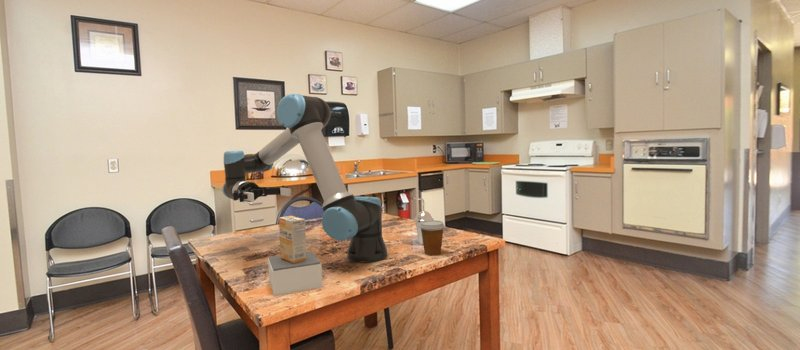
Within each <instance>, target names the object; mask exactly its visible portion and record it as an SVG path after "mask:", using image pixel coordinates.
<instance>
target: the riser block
mask: <svg viewBox="0 0 800 350" xmlns="http://www.w3.org/2000/svg"><path fill="white" fill-rule="evenodd" d="M267 263H268V265H267V267H268V268H267V269H268V282H269V284H270V287H271V290H272V293H273V296H274V297H275V296H283V295H286V294H293V293H298V292H303V291H310V290H315V289H320V288H323V271H322V270H323V269H322V265H323V264H322V263H321V261H320V260H319V259H318V257H317V256H316V255H315V253H314V252H313V251H311V250H310V251H306V260H305V261H302V262H298V263H292V262H290V261H287V260H285V259H282V258H281V256H280V255H275V256H269V257H268V258H267Z"/></svg>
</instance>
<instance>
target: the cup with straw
mask: <svg viewBox="0 0 800 350" xmlns="http://www.w3.org/2000/svg"><path fill="white" fill-rule="evenodd" d="M411 200H417V201H422V210H421V211H419V212H417V214H416V215H415V217H414V219H413V222H415V227H416V231H417V239H418V244H419V243H420V244H419V245H422V244H423V239H422V232H421V228H420V225H421V222H423V221H429V220H434V218H433V216H432V215H431V213H430V212H428V211H426V210H425V199H424V198H421V197H412V198H411Z"/></svg>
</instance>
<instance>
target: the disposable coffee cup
mask: <svg viewBox="0 0 800 350" xmlns="http://www.w3.org/2000/svg"><path fill="white" fill-rule="evenodd" d="M420 228H421V232H422V239H423V245H422V246H423V250H424V251H423V252H424V254H425V255H426V256H438V255H440V254H442V245H443V236H444V235H443V234H444V229H445V225H444V222H443V221H441V220H434V219H433V220H429V221H423V222H421V225H420Z"/></svg>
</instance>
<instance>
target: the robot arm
mask: <svg viewBox="0 0 800 350" xmlns="http://www.w3.org/2000/svg"><path fill="white" fill-rule="evenodd" d="M331 113H332V112H331V108H330V106H329V104H328V103H327V102H326V100H324V99H323V98H320V97H318V96H311V95H310V96H309V95H302V94H301V93H289V94H286V95H285V96H283V97H282V98H281V99H280V101H279V102H278V106H277V108H276V119H277V121H278V122H279V124H280V125H281V126H282V127H284V128H286V129H285V130H283V131H282V132H281V133H280V134H278V135H277V136H276V137H275V138H274V139H272V140H271V141H270V142H268V143H267V144H266V145H265V146H264V147H262V148H261V149H260V150H259V151H257V152H256V153H255V154H245V153H244V150H230V151H229V150H228V151H227V150H226V151H224V153H223V168H224V177H225V178H224V181H225V182H224V184H223V186H222V188H221V190H222V193H223V195H224V196H225V197H226V198H228V199H231V200H233V201H239V203H245V202H247V203H248V202H249V203H250V202H251V203H252V202H255V201H256V200H257V199H258V198H260V197H268V196H273V195H274V196H277V195H280V196H282V197H283V196H284V197H292V189H291V188H289V187H288V186H285V185H282V186H281V187H280V186H278V187H275V186H273V187H272V186H259V185H258V184H257V183H256V182H253V181H246V180H247V179H246V174H252V173H254V174H255V173H264V172H265V173H266V172H269V171H271V170H272V169H273V166H274V163H275V162H277V160H279V159H281V158H282V157H284V155H286V154H288V152H290V151H291V150H292V149H294V148H295V147H296V146H298V145H299V144H300V146H301V149H302V151H303V152H302V153H303V154H304V157H305V158H306V159H305V160H306V161H307V164H308V166H309V169H310V170H311V173H312V176H313V178H314V181H315V182H316V185H317V187H318V188H317V189H318V190H319V192H320V195H321V197H322V199H323V204H322V205H321V209H322V211H323V214H322V216H321V217H322V219H321V226H322V229H323V230H324V232H325V234H326V235H327V236H328V237H329V238H331V239H333V240H336V241H345V240H350V241H349V244H348V248H347V253H346V254H347V256H346V257H347V260H349V261H351V262H352V261H353V262H358V263H372V262H377V261H382V260H385V259H386V258H388V248H387V245H386V243H385V240H384V237H383V224H382V223H383V221H382V217H383V216H382V213H383V212H382V208H383V206H382V201H381V199H380V197H377V196H376V197H375V196H355V195H354V194H353V193H351V192H349V191H348V190H347V188H346V185H345V184H344V181H343V179H342V176H341V173H340V171H339V169H338V166H337V165H336V162H335V160H334V158H333V155H332V153H331V151H330V148H329V146H328V144H327V141H326V138H325V137H324V134H323V131H322V129H324V128H325V127H327V125H328V123H329V121H330V120H331Z"/></svg>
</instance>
